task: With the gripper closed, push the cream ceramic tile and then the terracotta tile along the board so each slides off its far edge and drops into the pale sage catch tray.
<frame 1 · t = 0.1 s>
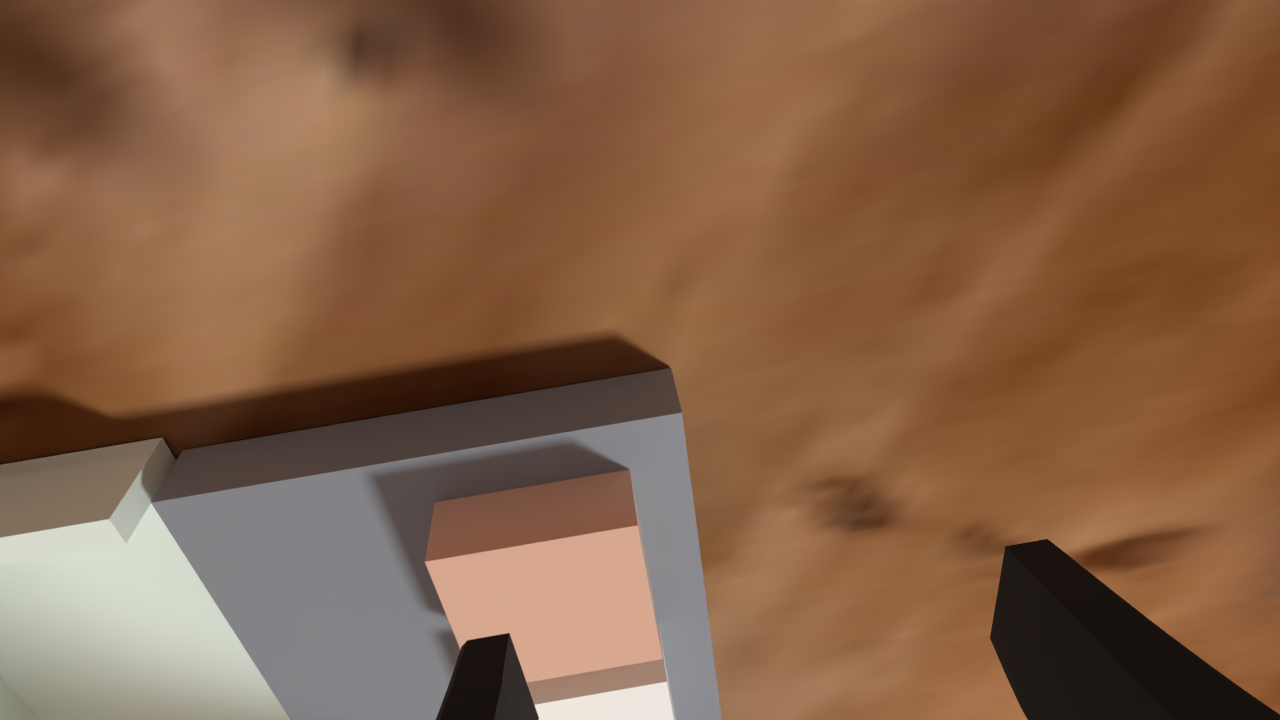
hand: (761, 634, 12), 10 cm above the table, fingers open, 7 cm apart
tray: (134, 648, 24), on the table
terracotta tile: (551, 554, 21), point 2 cm above the table, touching board
cream tile: (588, 687, 25), point 2 cm above the table, touching board
board: (493, 597, 25), on the table
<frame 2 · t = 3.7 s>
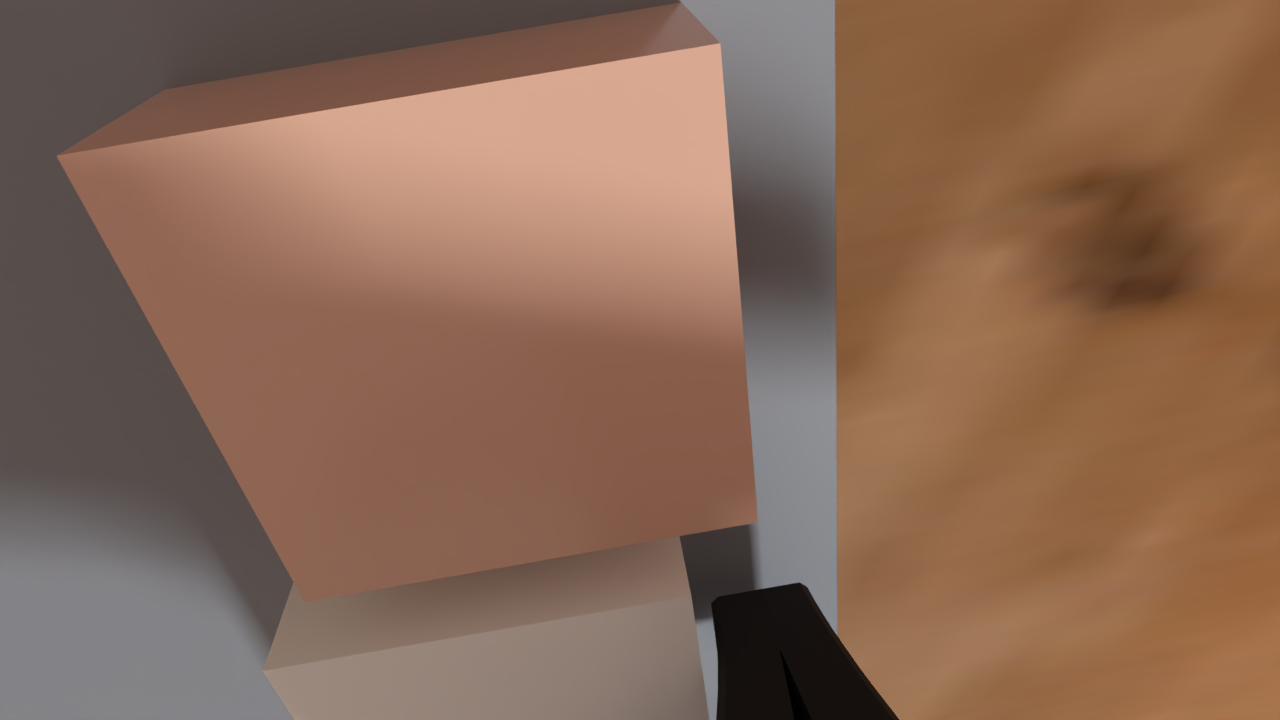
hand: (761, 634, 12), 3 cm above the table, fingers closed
terracotta tile: (487, 276, 9), point 2 cm above the table, touching board
cream tile: (526, 630, 12), point 2 cm above the table, touching gripper
board: (392, 443, 12), on the table
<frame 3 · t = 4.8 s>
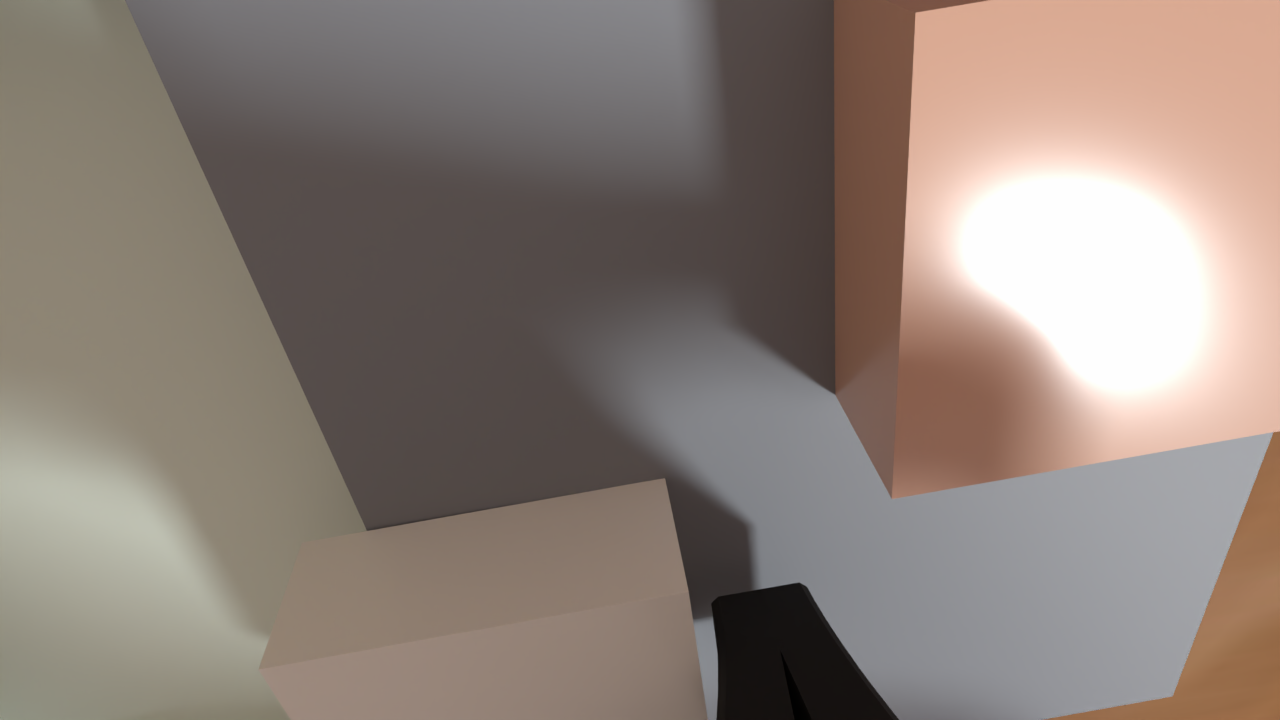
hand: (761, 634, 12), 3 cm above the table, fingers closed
tray: (83, 471, 12), on the table
terracotta tile: (1049, 181, 9), point 2 cm above the table, touching board
cream tile: (523, 628, 12), point 2 cm above the table, touching board, gripper
board: (796, 374, 13), on the table
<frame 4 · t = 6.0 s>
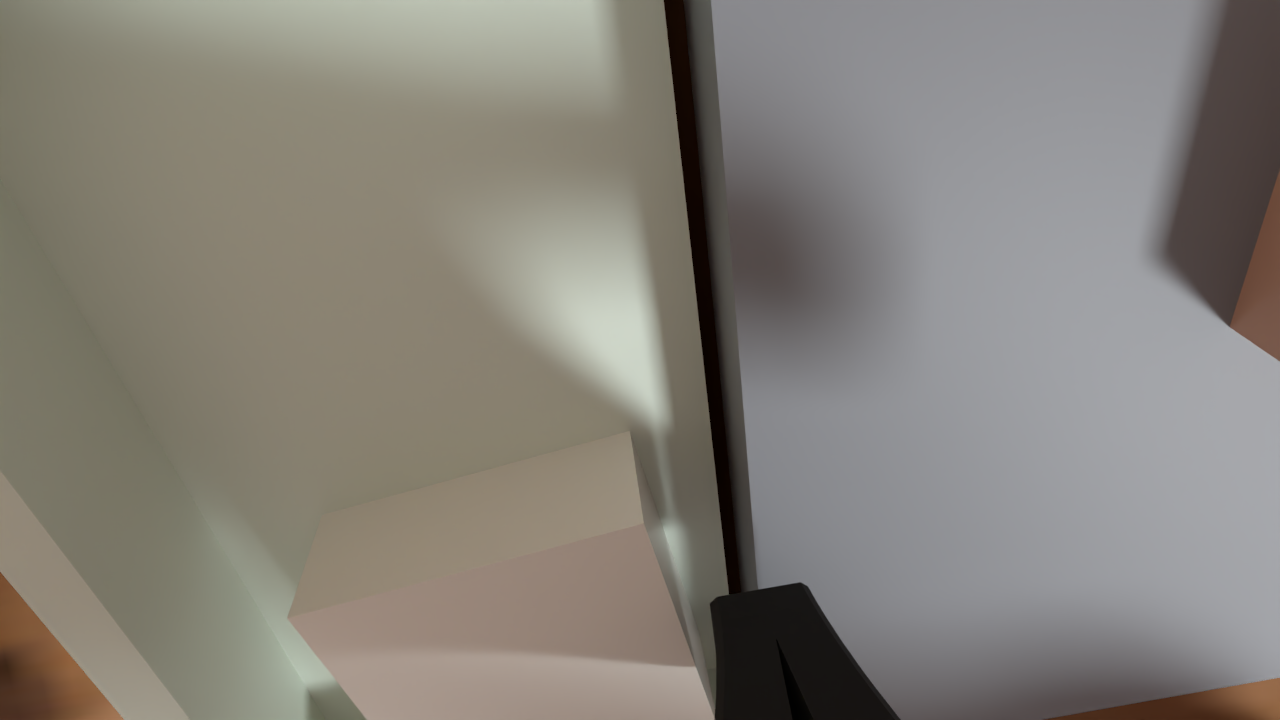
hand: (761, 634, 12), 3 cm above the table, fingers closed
tray: (422, 411, 12), on the table
cream tile: (527, 578, 14), point 1 cm above the table, touching tray
board: (1121, 318, 13), on the table
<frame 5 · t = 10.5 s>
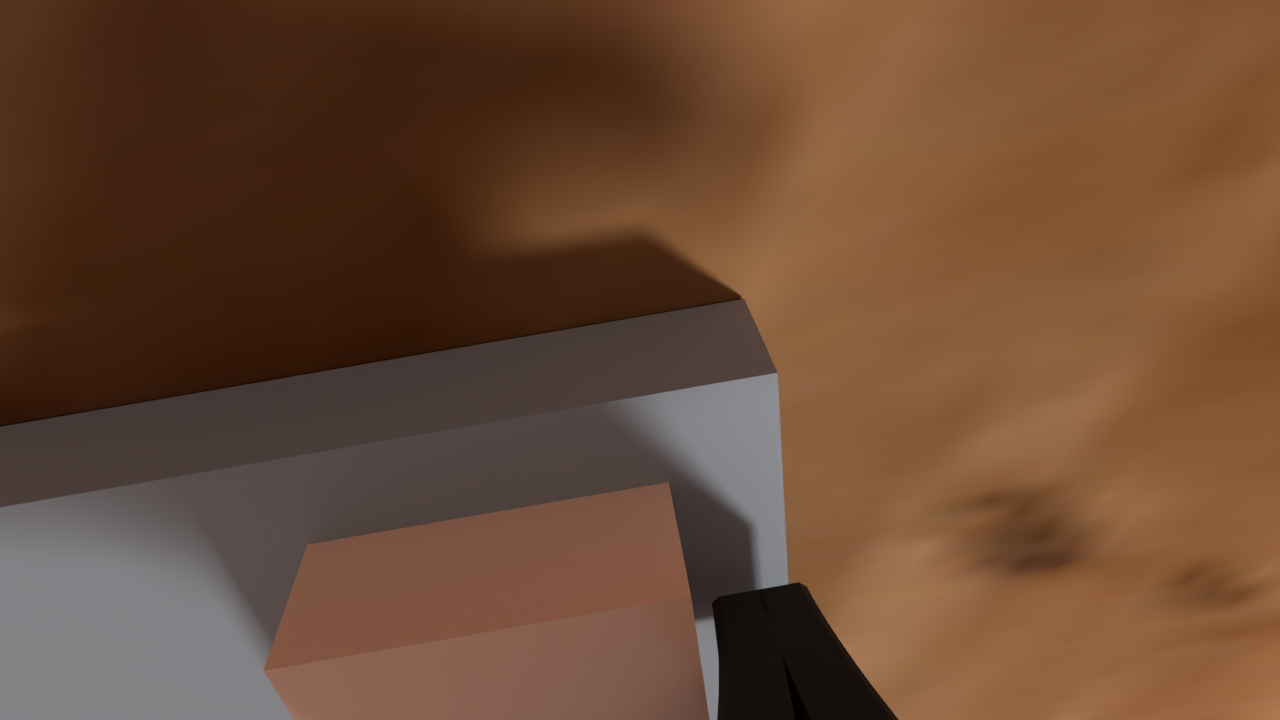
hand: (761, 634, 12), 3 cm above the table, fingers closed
terracotta tile: (527, 630, 12), point 2 cm above the table, touching board, gripper
board: (446, 682, 16), on the table
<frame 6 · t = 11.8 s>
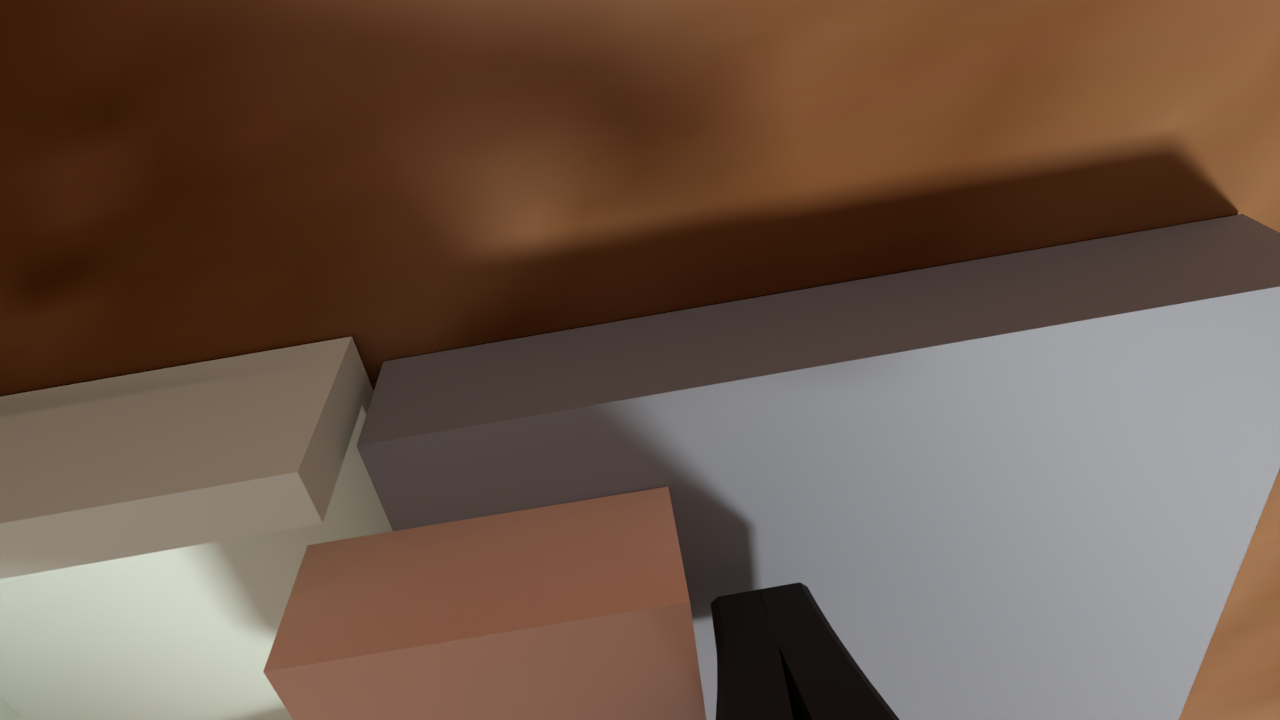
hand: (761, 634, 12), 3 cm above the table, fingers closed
tray: (259, 698, 15), on the table
terracotta tile: (525, 632, 12), point 2 cm above the table, touching board
board: (821, 616, 16), on the table
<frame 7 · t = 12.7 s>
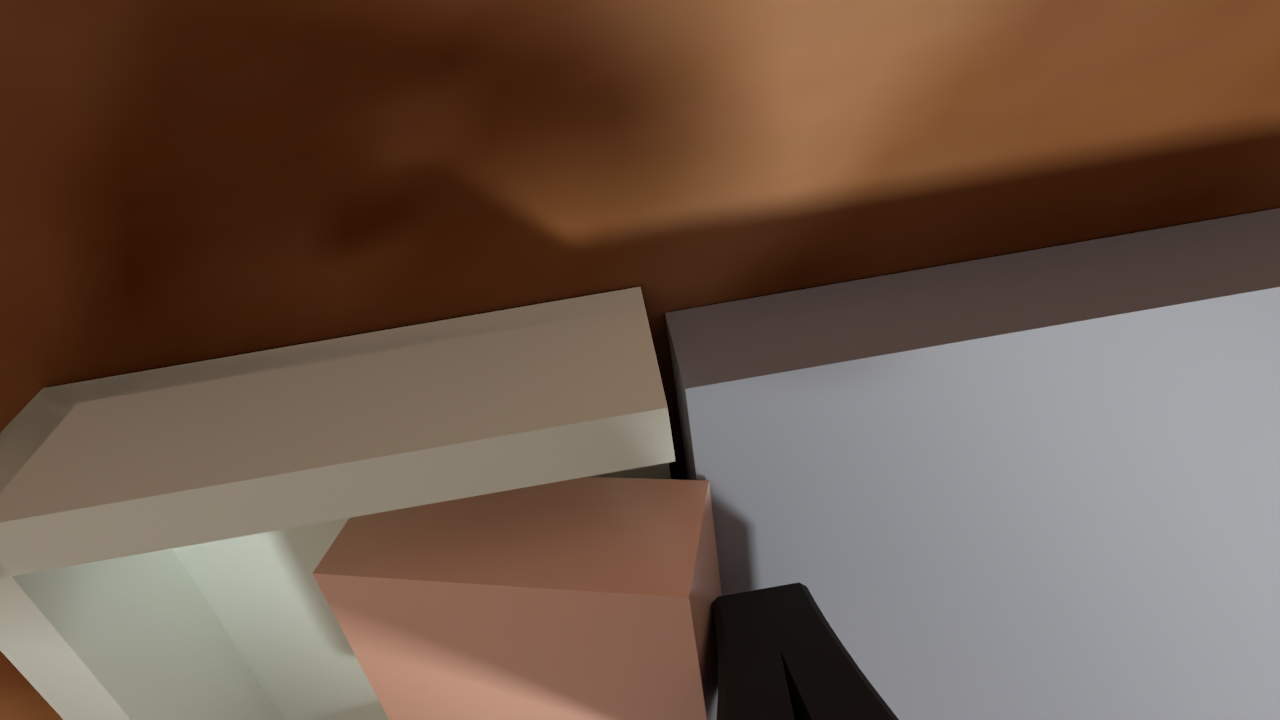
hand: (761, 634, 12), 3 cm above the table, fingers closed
tray: (472, 660, 15), on the table
terracotta tile: (568, 591, 13), point 1 cm above the table, tilted 17°, touching board, gripper, tray
board: (1027, 580, 16), on the table
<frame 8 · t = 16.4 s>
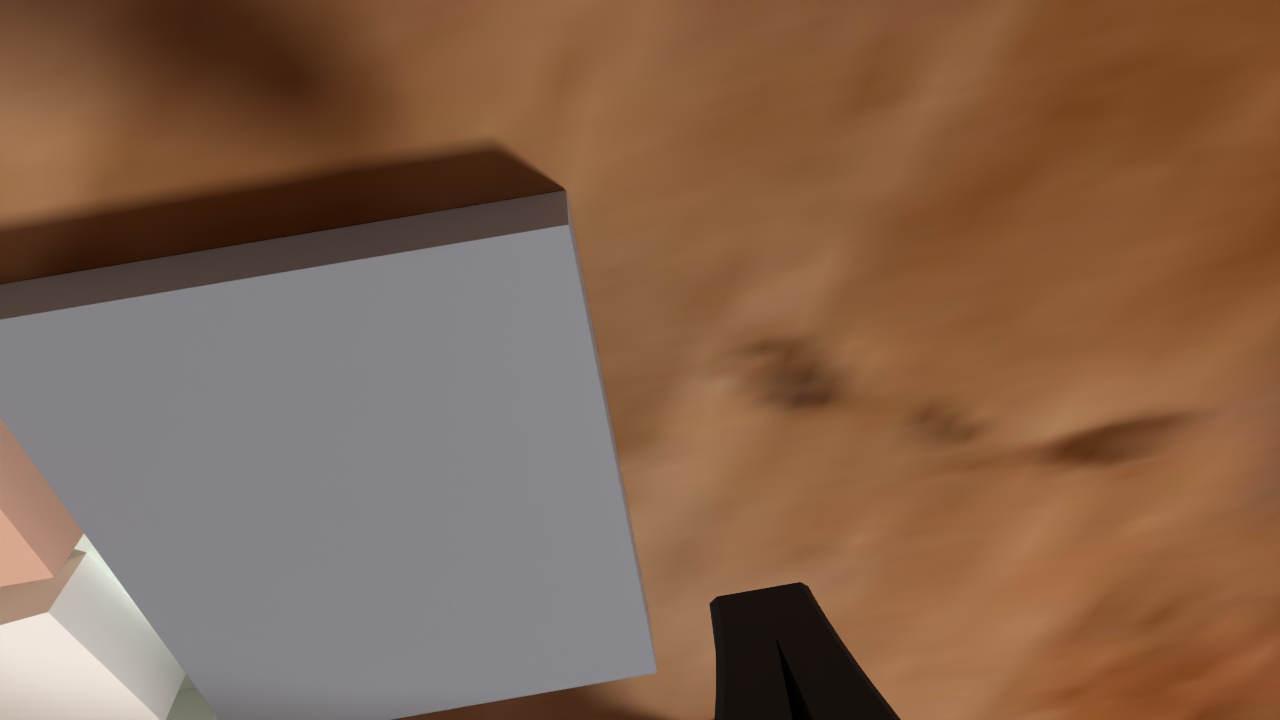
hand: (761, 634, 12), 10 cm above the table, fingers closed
cream tile: (61, 632, 23), point 1 cm above the table, touching tray
board: (384, 484, 22), on the table
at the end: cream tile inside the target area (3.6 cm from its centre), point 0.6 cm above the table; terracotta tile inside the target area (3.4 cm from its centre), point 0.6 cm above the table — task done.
